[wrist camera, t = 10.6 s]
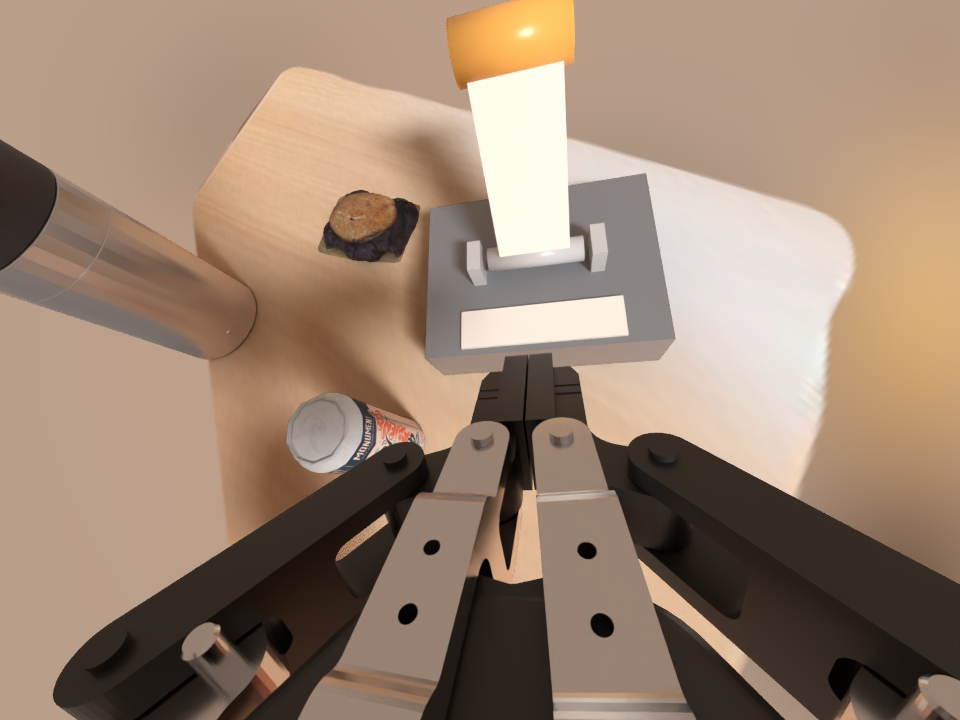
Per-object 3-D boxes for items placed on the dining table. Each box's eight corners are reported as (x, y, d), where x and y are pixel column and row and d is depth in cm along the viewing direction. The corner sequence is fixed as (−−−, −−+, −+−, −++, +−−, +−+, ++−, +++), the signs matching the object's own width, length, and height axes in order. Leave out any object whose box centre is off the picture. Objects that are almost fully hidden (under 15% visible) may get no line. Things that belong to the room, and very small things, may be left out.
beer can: (406, 485, 32) (319, 490, 21) (365, 454, 33) (264, 442, 22) (437, 436, 32) (369, 415, 21) (396, 408, 34) (313, 374, 23)
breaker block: (658, 360, 30) (686, 324, 23) (444, 375, 34) (412, 348, 27) (635, 214, 34) (652, 147, 27) (446, 241, 38) (420, 188, 31)
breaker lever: (585, 270, 27) (585, -17, 16) (489, 281, 28) (432, 24, 18) (581, 247, 29) (579, -21, 18) (492, 259, 30) (442, 16, 20)
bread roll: (318, 258, 42) (296, 239, 39) (346, 195, 44) (326, 171, 40) (401, 272, 39) (384, 253, 36) (427, 204, 41) (413, 178, 37)
